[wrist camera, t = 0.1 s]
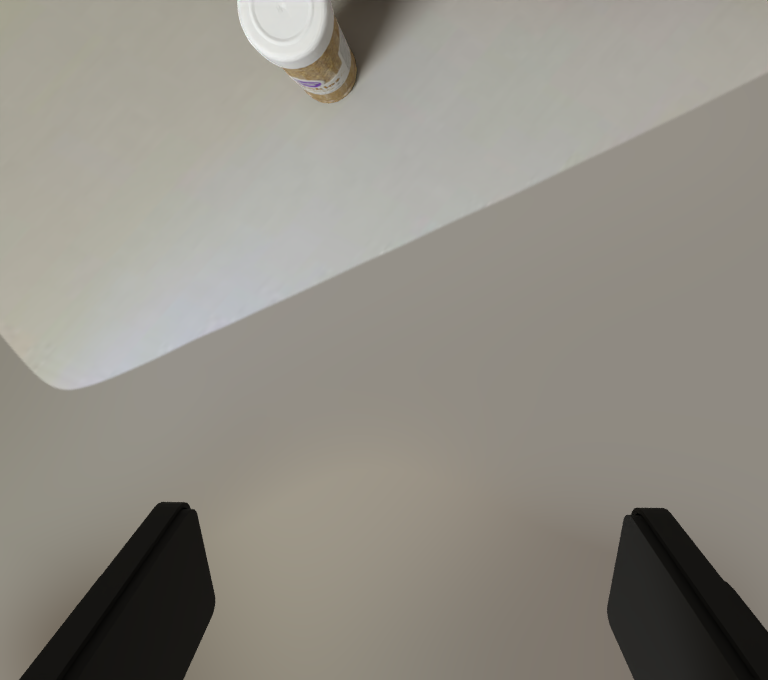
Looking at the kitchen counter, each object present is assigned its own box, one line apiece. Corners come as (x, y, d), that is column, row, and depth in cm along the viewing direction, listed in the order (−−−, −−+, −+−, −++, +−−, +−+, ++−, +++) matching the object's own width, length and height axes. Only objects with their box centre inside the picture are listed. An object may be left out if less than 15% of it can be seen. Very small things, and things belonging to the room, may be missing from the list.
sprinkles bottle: (305, 108, 35) (247, 68, 22) (293, 41, 33) (223, -42, 21) (362, 98, 34) (335, 52, 22) (353, 30, 33) (318, -62, 20)
